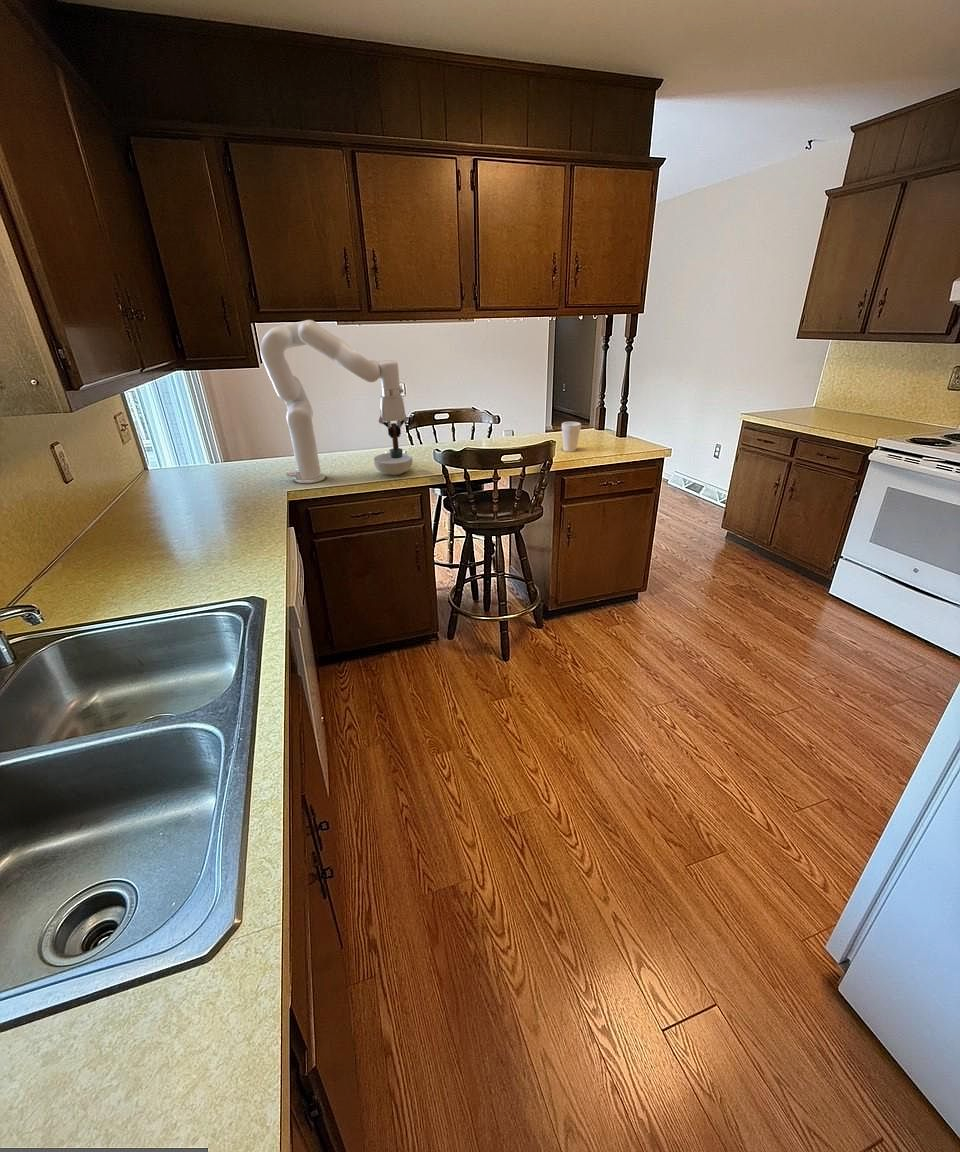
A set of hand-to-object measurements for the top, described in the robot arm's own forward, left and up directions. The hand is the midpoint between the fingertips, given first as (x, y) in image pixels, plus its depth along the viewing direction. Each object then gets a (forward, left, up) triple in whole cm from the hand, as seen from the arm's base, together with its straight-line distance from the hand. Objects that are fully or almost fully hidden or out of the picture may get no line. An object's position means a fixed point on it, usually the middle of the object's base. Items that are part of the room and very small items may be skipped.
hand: (394, 436), depth 224 cm
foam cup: (+89, +5, -16) cm, 91 cm away
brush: (0, 0, -9) cm, 9 cm away
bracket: (+2, +16, -16) cm, 23 cm away
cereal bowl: (-2, 0, -16) cm, 16 cm away
